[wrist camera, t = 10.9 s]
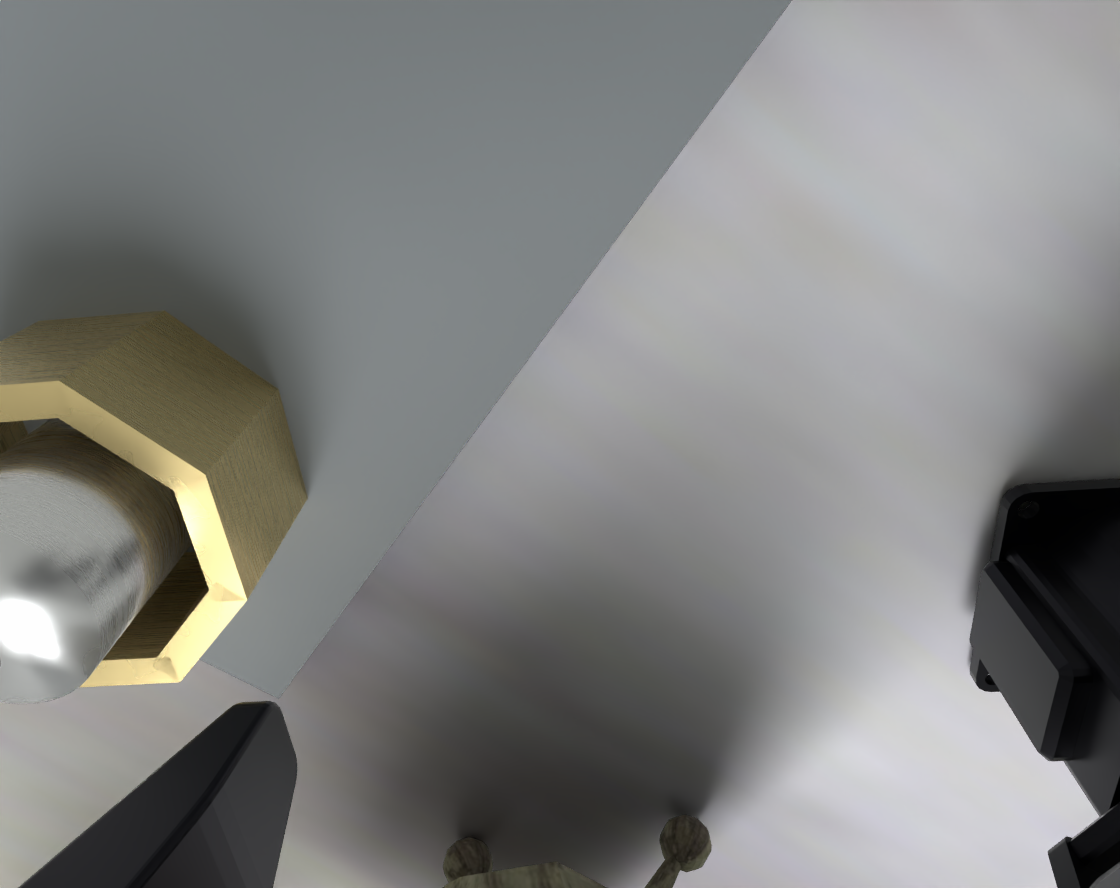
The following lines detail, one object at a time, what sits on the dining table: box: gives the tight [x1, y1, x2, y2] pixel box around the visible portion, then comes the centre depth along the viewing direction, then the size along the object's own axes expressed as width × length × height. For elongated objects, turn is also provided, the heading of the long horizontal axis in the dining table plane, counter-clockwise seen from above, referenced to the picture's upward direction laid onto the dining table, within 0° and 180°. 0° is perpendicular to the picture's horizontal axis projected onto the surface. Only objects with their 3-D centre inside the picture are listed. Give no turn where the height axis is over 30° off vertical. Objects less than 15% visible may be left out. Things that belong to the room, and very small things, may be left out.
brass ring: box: [0, 310, 308, 687], centre depth 18 cm, size 7×7×4 cm
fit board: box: [0, 0, 792, 704], centre depth 14 cm, size 26×12×7 cm, turn 145°
